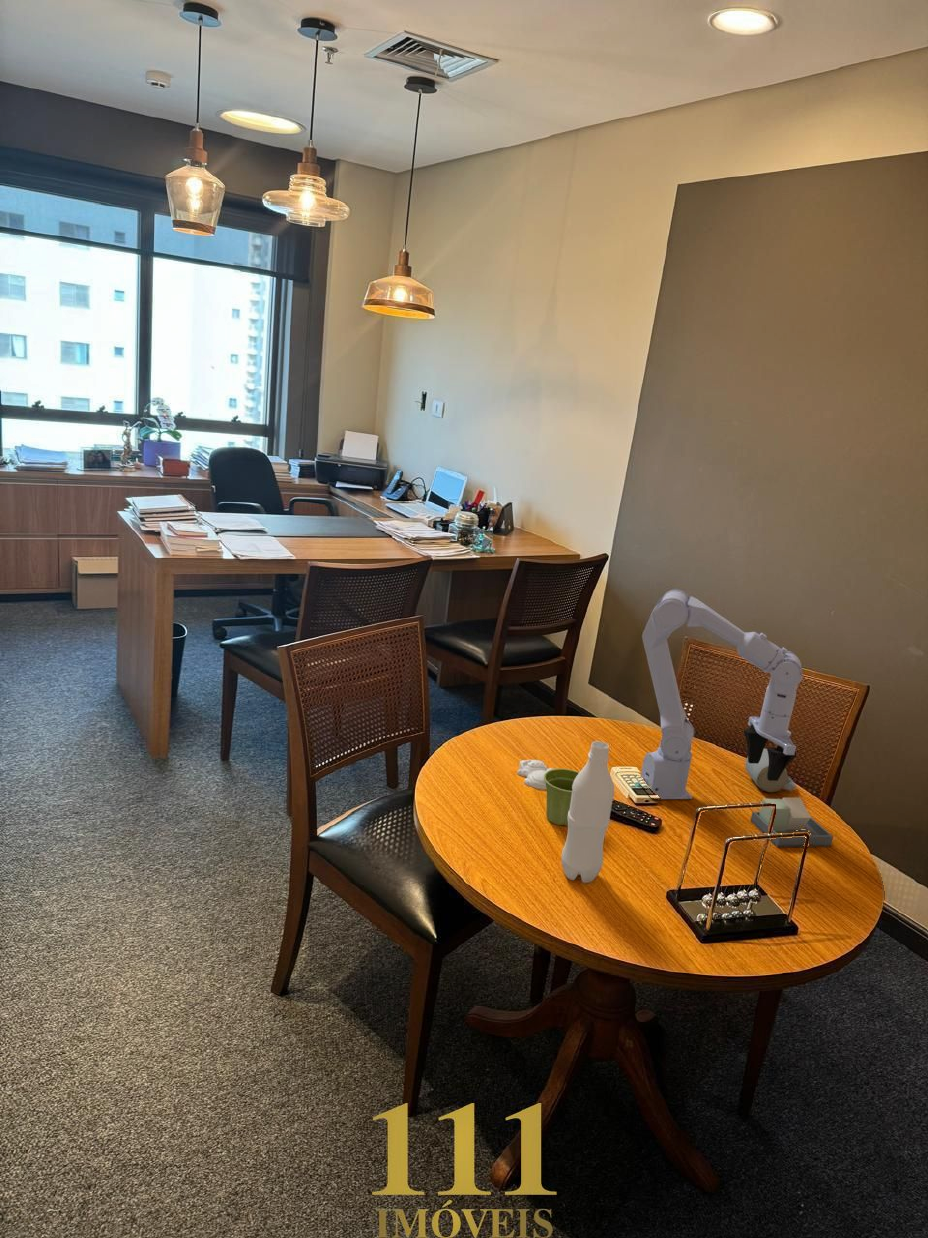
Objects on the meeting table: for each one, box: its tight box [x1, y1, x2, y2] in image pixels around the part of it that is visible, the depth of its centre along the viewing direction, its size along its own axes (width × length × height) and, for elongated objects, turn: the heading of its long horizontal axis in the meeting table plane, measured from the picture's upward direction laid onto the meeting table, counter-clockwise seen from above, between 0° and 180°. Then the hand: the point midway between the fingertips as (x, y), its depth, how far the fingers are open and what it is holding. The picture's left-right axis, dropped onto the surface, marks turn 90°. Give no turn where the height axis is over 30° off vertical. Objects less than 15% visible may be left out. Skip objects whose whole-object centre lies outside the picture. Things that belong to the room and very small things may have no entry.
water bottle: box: [560, 740, 615, 884], centre depth 142 cm, size 7×7×25 cm
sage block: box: [759, 798, 791, 831], centre depth 168 cm, size 4×4×5 cm
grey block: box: [781, 797, 812, 830], centre depth 169 cm, size 4×4×5 cm
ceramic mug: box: [744, 747, 797, 793], centre depth 187 cm, size 11×8×8 cm
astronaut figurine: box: [516, 759, 553, 791], centre depth 181 cm, size 9×12×3 cm
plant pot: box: [544, 768, 580, 827], centre depth 163 cm, size 9×9×9 cm
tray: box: [750, 810, 834, 848], centre depth 167 cm, size 12×10×2 cm
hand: (762, 771), depth 173 cm, fingers open, 7 cm apart
